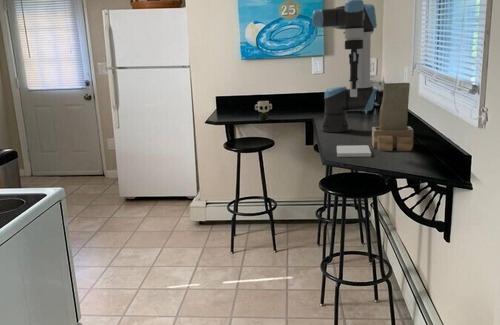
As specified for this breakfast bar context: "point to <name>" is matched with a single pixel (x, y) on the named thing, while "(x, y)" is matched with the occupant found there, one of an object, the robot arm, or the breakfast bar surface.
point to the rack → (393, 133)
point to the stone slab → (394, 106)
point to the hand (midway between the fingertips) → (353, 96)
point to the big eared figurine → (263, 109)
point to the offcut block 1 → (385, 143)
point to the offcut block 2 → (403, 143)
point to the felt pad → (353, 151)
